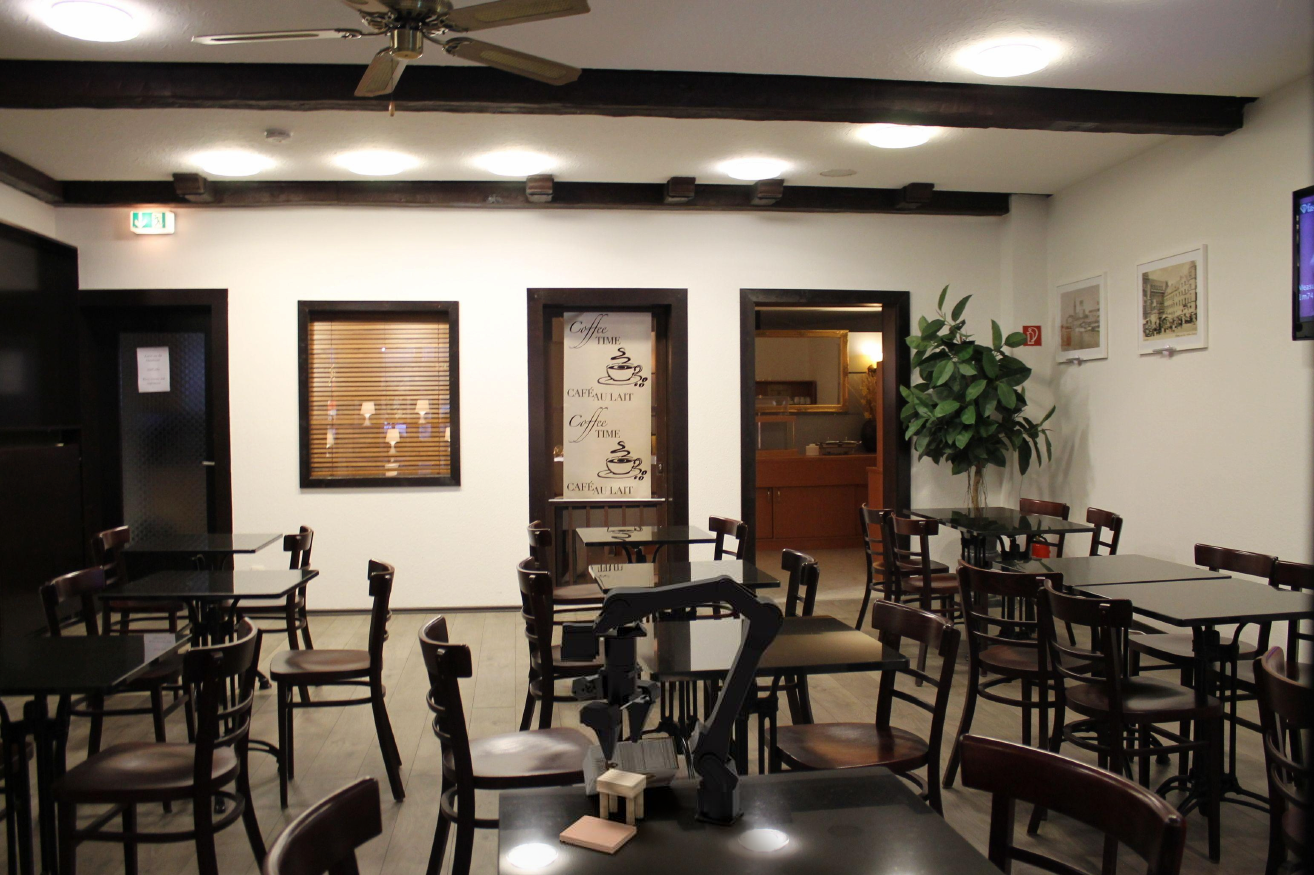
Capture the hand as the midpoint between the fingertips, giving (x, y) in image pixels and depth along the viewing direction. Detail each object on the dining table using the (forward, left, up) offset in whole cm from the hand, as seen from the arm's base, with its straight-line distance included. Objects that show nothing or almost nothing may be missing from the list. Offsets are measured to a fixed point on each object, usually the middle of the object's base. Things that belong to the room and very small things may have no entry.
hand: (621, 751), depth 155 cm
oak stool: (0, 0, -12) cm, 12 cm away
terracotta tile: (0, +8, -12) cm, 14 cm away
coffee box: (+10, -4, -6) cm, 12 cm away
